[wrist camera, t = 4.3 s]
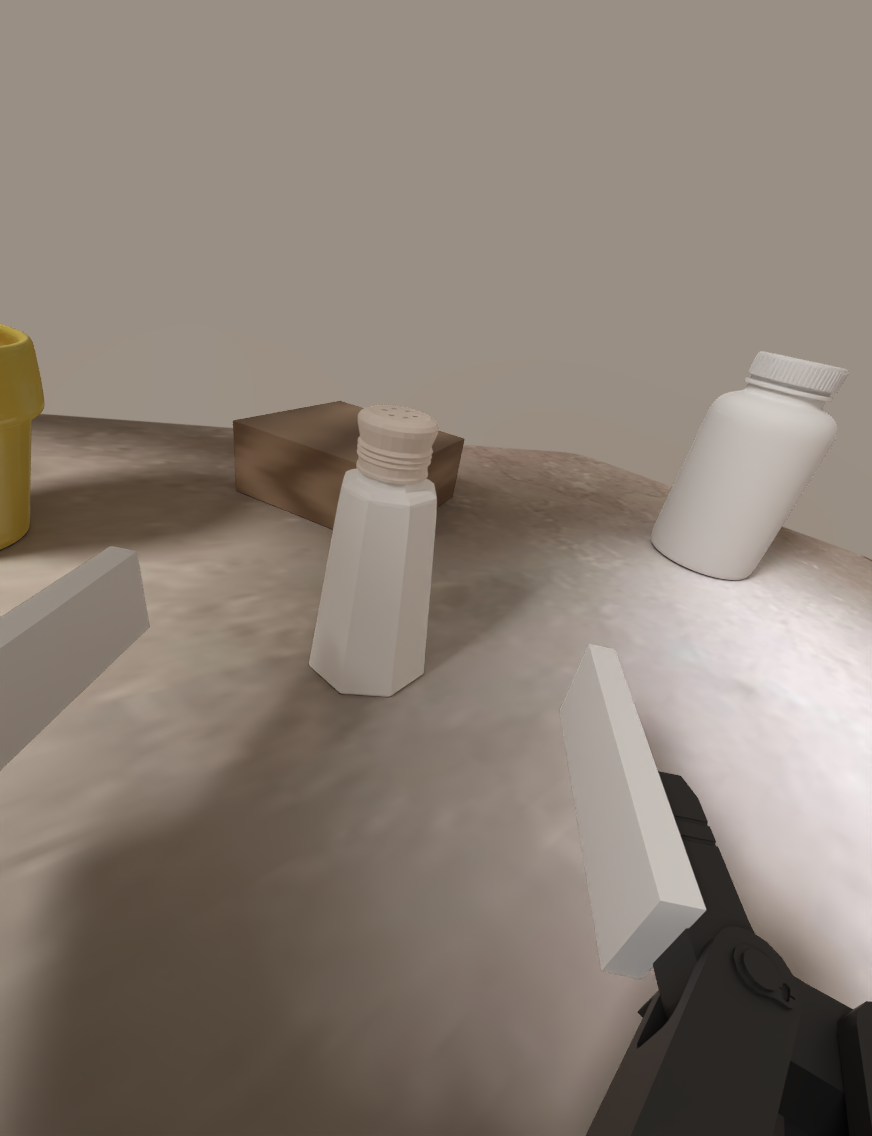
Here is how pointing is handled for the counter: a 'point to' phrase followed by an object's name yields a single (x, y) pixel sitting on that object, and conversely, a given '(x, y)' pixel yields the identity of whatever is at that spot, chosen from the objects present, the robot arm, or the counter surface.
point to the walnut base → (317, 459)
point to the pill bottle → (749, 467)
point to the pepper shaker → (380, 559)
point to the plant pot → (16, 430)
